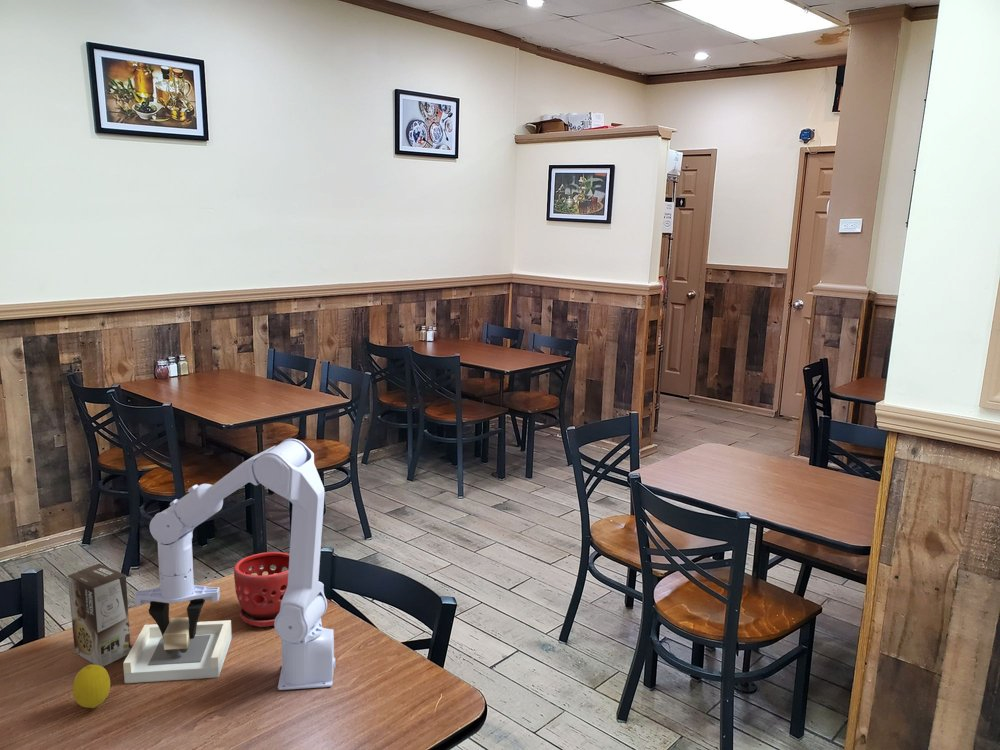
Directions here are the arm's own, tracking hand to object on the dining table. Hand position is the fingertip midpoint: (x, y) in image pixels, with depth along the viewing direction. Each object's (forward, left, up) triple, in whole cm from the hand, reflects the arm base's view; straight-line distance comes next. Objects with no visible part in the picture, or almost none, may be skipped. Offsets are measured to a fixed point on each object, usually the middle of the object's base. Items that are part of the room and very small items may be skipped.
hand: (179, 636), depth 139 cm
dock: (0, 0, -5) cm, 5 cm away
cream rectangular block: (0, 0, -2) cm, 2 cm away
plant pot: (-14, -15, -5) cm, 21 cm away
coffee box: (+15, -4, -5) cm, 16 cm away
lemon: (+11, +13, -5) cm, 18 cm away
